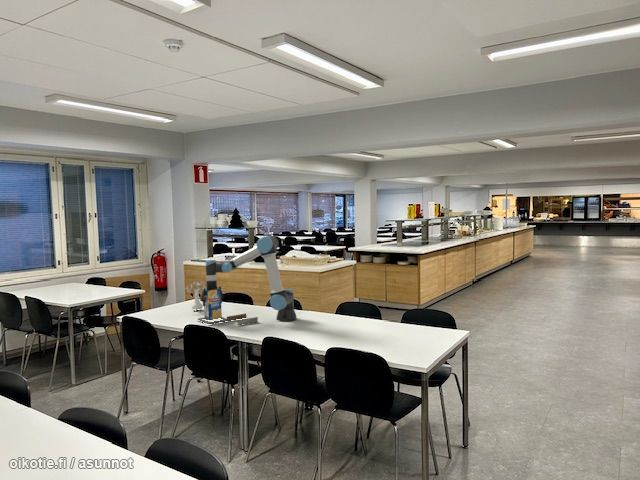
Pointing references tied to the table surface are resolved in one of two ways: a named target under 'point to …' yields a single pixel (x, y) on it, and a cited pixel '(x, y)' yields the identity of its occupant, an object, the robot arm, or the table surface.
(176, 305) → the table surface
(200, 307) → the flower vase
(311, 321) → the table surface
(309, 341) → the table surface
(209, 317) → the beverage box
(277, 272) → the robot arm
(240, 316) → the carton holder
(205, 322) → the tray
